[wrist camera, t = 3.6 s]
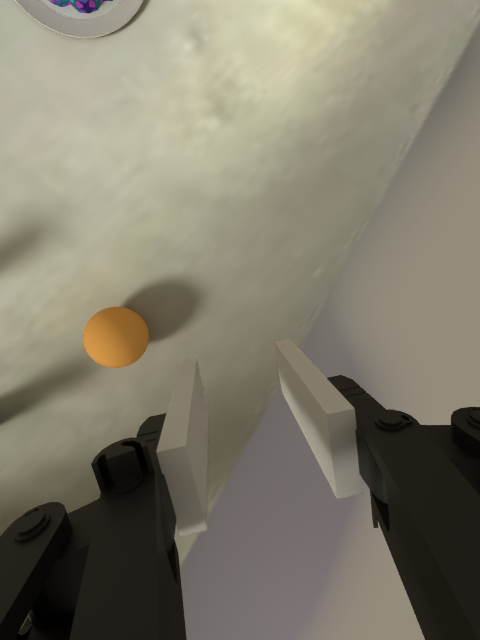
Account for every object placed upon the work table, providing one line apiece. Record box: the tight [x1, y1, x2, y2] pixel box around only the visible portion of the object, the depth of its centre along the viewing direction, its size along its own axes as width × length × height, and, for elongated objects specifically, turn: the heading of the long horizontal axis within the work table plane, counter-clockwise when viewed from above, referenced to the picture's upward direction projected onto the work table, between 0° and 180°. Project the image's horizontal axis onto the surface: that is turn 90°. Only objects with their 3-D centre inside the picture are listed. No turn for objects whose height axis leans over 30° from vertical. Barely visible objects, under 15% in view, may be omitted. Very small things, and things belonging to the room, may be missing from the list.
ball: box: [83, 307, 149, 368], centre depth 27 cm, size 6×6×6 cm
